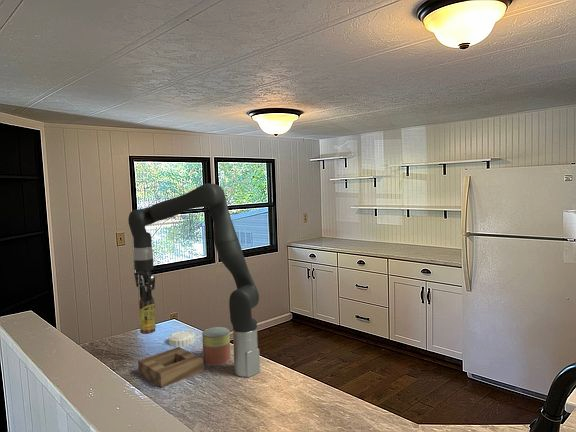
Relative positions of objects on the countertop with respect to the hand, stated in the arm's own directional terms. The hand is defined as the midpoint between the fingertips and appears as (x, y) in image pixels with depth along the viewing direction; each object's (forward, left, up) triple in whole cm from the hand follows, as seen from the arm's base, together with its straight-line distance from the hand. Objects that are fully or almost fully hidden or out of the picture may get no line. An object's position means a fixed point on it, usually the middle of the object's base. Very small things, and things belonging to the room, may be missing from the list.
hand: (145, 298), depth 176 cm
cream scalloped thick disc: (+9, -21, -27) cm, 35 cm away
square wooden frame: (-16, -1, -27) cm, 31 cm away
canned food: (-20, -20, -27) cm, 39 cm away
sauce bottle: (0, 0, -14) cm, 14 cm away
